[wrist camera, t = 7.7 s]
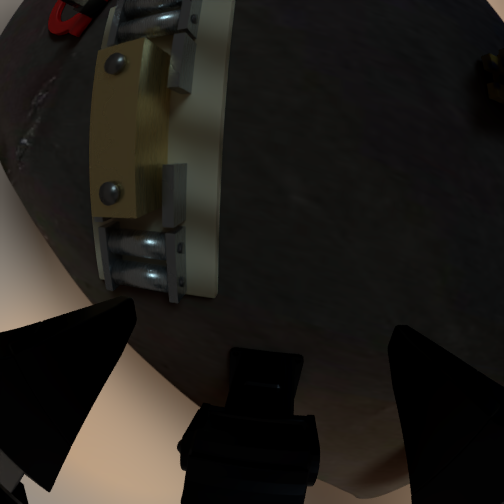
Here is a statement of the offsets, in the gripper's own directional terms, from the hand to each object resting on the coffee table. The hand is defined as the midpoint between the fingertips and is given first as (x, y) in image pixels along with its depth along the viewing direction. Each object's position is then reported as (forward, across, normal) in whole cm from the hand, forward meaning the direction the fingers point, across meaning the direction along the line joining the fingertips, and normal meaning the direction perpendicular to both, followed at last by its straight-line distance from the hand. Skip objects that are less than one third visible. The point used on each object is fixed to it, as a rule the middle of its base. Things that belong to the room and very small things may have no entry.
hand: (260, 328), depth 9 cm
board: (+12, +10, -7) cm, 17 cm away
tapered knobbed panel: (+11, +10, -7) cm, 16 cm away
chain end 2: (+11, +10, 0) cm, 15 cm away
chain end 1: (+11, +10, -14) cm, 20 cm away
